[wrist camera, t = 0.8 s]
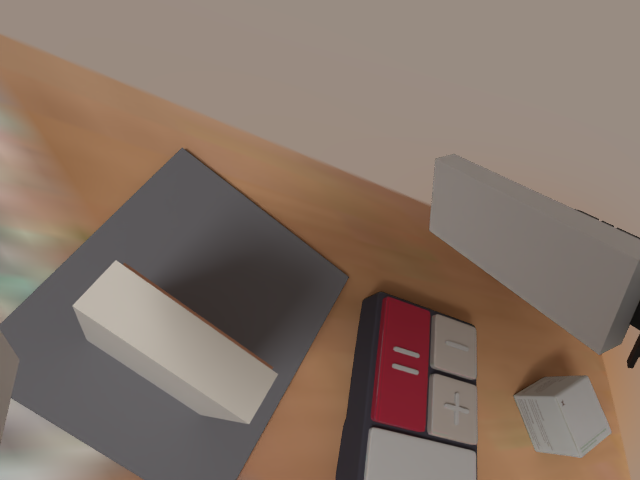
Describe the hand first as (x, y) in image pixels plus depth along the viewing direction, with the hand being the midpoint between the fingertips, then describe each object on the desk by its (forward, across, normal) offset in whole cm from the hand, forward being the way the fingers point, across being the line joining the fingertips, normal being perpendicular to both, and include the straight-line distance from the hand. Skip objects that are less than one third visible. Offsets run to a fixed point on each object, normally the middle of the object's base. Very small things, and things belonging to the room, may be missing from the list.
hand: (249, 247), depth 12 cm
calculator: (+9, +12, -25) cm, 30 cm away
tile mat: (+16, -2, -14) cm, 21 cm away
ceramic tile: (+13, -5, -15) cm, 20 cm away
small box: (+6, +27, -33) cm, 43 cm away
